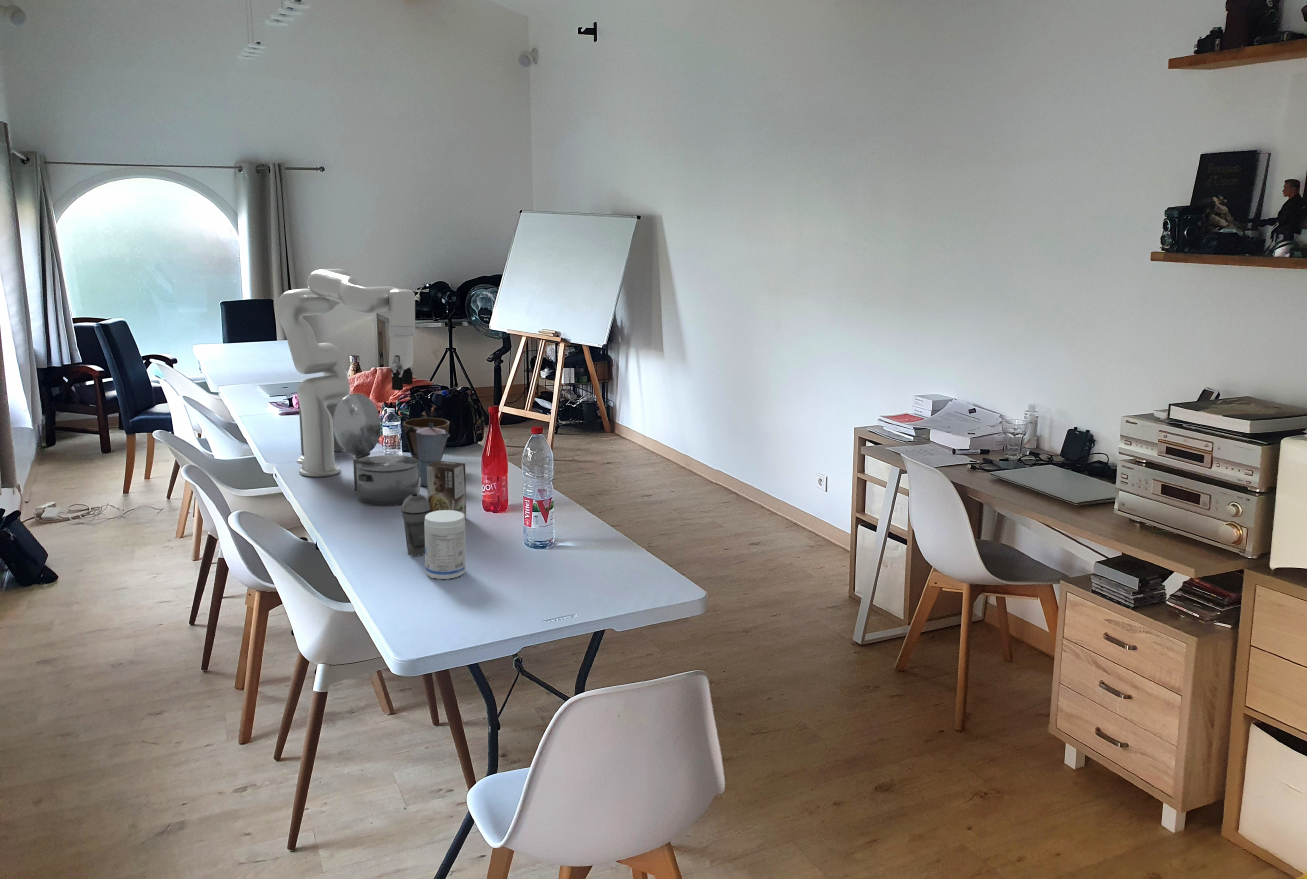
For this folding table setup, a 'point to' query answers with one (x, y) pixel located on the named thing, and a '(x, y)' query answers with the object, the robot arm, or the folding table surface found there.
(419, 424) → the plant pot
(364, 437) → the lid
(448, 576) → the supplement tub
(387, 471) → the cooking pot
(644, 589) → the folding table surface
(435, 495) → the coffee box
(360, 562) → the folding table surface
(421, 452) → the moka pot
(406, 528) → the beverage cup
